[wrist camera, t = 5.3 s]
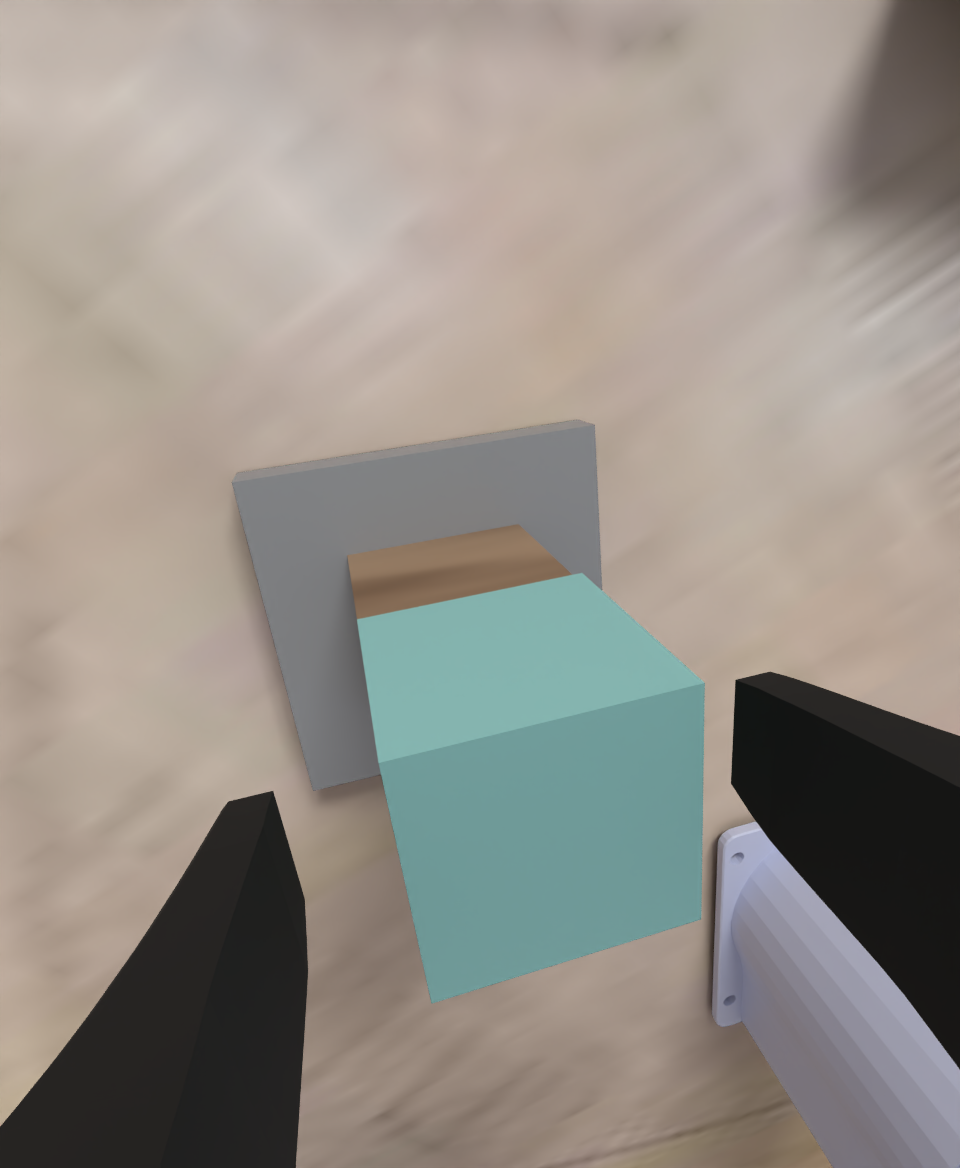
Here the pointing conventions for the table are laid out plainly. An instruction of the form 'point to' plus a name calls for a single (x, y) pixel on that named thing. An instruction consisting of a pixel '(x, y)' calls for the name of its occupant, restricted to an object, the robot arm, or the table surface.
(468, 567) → the walnut block
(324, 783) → the base plate
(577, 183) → the table surface
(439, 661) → the teal block
